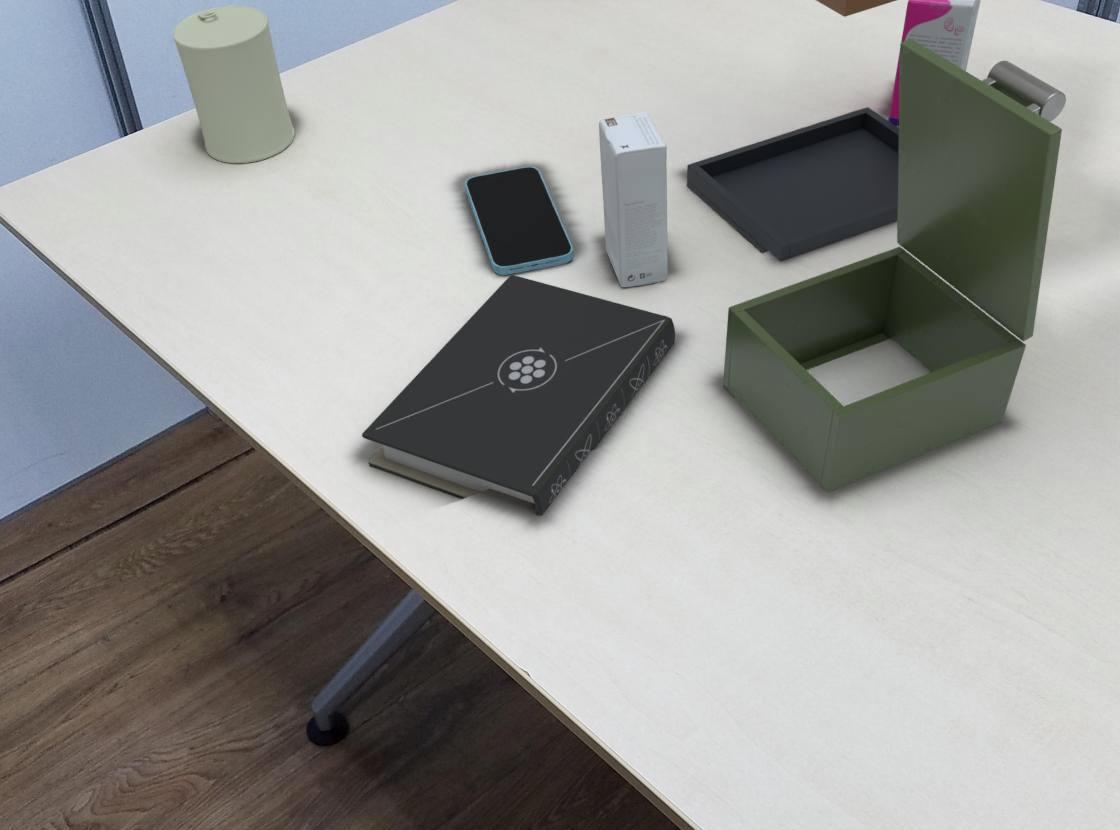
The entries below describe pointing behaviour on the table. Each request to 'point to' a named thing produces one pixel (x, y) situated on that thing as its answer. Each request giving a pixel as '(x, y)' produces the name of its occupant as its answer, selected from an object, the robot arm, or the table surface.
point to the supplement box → (938, 34)
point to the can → (235, 83)
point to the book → (520, 393)
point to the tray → (806, 184)
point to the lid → (978, 179)
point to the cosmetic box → (634, 198)
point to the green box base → (851, 325)
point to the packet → (852, 5)
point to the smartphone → (518, 220)
